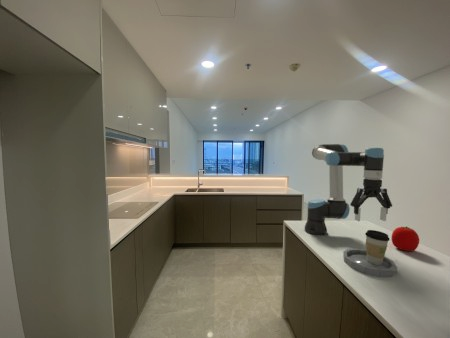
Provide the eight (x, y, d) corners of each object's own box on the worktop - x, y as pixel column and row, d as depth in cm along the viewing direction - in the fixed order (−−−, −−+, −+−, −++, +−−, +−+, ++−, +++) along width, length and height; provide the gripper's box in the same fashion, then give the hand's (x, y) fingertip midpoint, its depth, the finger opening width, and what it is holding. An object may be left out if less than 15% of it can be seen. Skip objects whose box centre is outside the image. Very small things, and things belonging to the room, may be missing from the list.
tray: (335, 254, 112) (335, 249, 111) (371, 253, 113) (371, 248, 113) (363, 277, 90) (364, 270, 90) (408, 276, 92) (408, 269, 91)
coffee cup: (391, 268, 96) (395, 238, 95) (369, 265, 97) (372, 236, 96) (378, 257, 106) (381, 230, 105) (358, 255, 107) (361, 228, 106)
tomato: (394, 251, 116) (395, 227, 115) (388, 243, 126) (389, 221, 125) (422, 256, 111) (424, 231, 110) (414, 247, 121) (415, 225, 120)
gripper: (353, 179, 95) (351, 223, 96) (403, 179, 96) (400, 222, 98) (343, 177, 102) (341, 218, 104) (389, 178, 104) (387, 217, 105)
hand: (370, 220), depth 101 cm, fingers open, 13 cm apart
